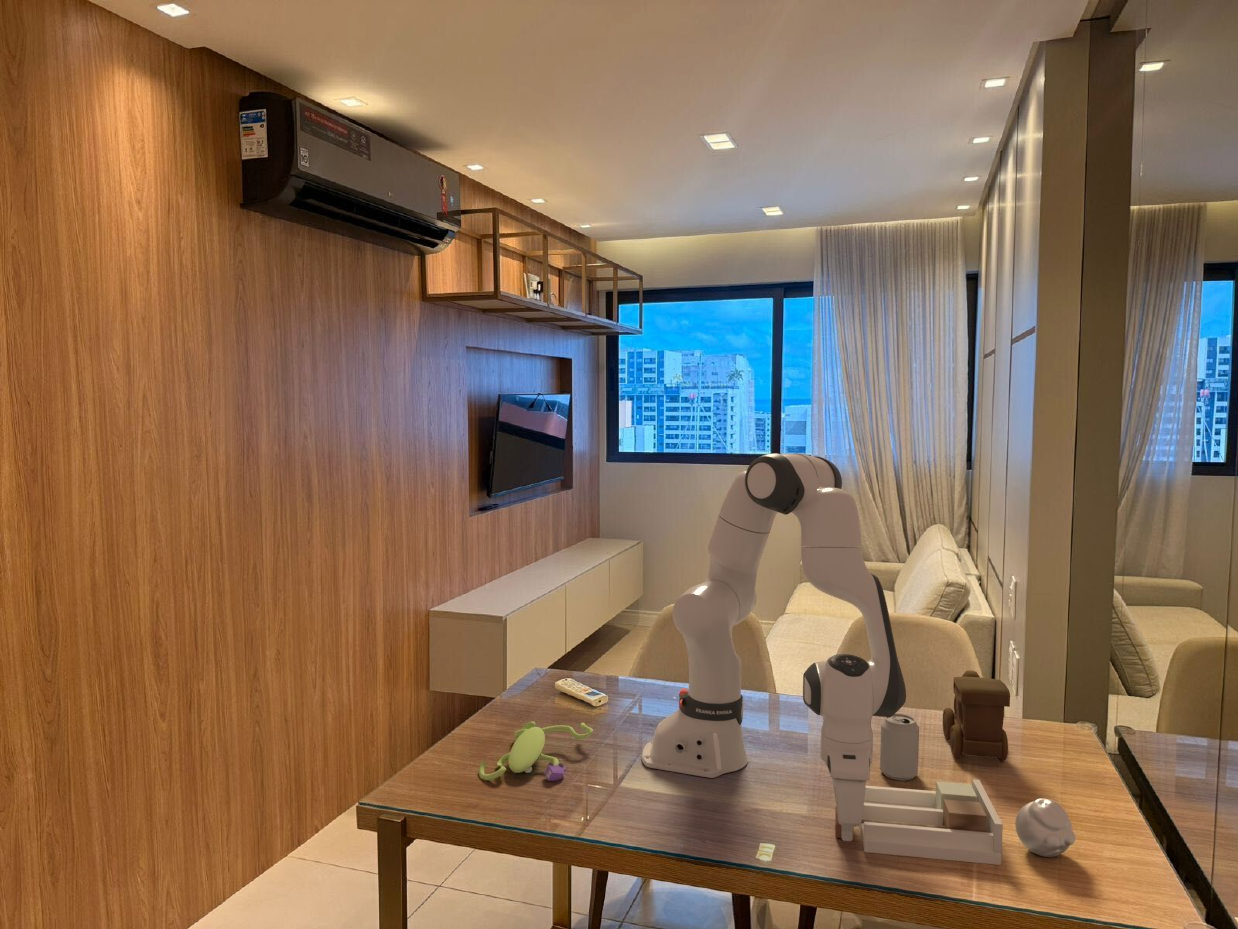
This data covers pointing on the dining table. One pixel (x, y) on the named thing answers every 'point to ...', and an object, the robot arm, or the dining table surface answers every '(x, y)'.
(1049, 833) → the grey round lump
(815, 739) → the dining table surface
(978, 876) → the dining table surface
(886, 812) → the lane shelf
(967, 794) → the sage block
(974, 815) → the brown block pusher rod
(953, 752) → the wooden toy train
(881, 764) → the can
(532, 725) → the figurine
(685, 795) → the dining table surface
